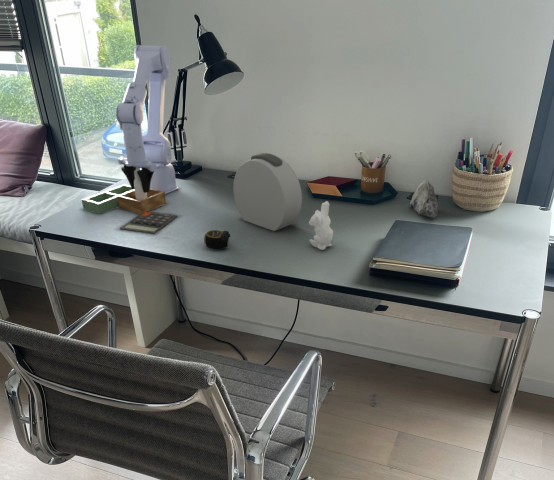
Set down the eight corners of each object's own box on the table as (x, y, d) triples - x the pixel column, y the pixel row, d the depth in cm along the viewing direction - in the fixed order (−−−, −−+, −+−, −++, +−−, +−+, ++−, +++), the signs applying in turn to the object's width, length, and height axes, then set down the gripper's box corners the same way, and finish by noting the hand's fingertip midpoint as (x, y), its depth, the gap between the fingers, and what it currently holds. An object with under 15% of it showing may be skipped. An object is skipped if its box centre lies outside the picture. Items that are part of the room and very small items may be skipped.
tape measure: (227, 251, 153) (227, 238, 151) (203, 251, 153) (201, 238, 151) (230, 241, 159) (230, 229, 157) (206, 241, 159) (205, 228, 157)
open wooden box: (144, 198, 188) (142, 186, 186) (166, 203, 184) (164, 191, 181) (119, 208, 181) (117, 195, 178) (141, 214, 176) (139, 201, 174)
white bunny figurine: (316, 239, 160) (317, 197, 153) (338, 243, 158) (341, 201, 151) (304, 250, 154) (305, 207, 147) (327, 254, 151) (329, 211, 144)
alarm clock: (301, 227, 167) (303, 159, 155) (284, 234, 163) (285, 164, 151) (251, 210, 179) (249, 145, 167) (234, 216, 174) (231, 150, 163)
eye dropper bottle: (153, 202, 183) (148, 165, 176) (142, 208, 179) (136, 170, 172) (142, 200, 185) (137, 163, 178) (131, 206, 181) (125, 168, 174)
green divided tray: (125, 193, 192) (124, 184, 190) (142, 197, 189) (140, 188, 187) (83, 209, 180) (81, 199, 178) (100, 214, 176) (98, 204, 174)
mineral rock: (433, 224, 169) (438, 191, 163) (398, 217, 173) (403, 185, 168) (445, 210, 178) (450, 178, 172) (412, 205, 183) (416, 173, 177)
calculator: (177, 214, 175) (154, 232, 163) (178, 217, 175) (154, 235, 164) (144, 210, 178) (119, 227, 166) (145, 213, 178) (119, 230, 167)
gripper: (107, 145, 172) (115, 189, 180) (142, 152, 165) (148, 198, 173) (124, 140, 177) (131, 183, 184) (158, 147, 170) (164, 191, 178)
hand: (140, 190), depth 179 cm, fingers closed on eye dropper bottle, 4 cm apart
